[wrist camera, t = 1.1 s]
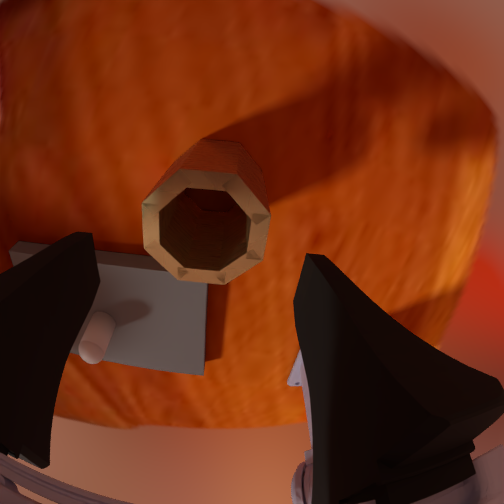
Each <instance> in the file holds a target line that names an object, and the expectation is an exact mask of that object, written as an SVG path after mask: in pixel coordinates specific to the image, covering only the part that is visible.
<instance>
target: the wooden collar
mask: <svg viewBox="0 0 504 504" xmlns="http://www.w3.org/2000/svg"><path fill="white" fill-rule="evenodd" d="M185 188H197V189H209V190H219V191H227V192H228V193H229V194H230V196H231V197H232V198H233V199H234V200H235V201H236V202H237V204H236V205H235V206H234V207H232V208H231V209H229V210H228V211H227V212H219V211H208V210H201V209H200V208H199V207H198V206H197V205H196V204H195V203H194V202H193V201H192V200H191V198H190V197H189V196H188V195H187V194H186V193H185V192H184V190H185ZM270 218H271V213H270V208H269V203H268V198H267V193H266V188H265V183H264V178H263V174H262V170H261V169H260V168H259V166H258V165H257V164H256V163H255V161H254V160H253V159H252V158H251V156H250V155H249V154H248V153H247V152H246V150H245V149H244V148H243V147H242V145H241V144H240V143H239V142H230V141H220V140H209V139H201V140H199V141H198V142H197V143H196V144H195V145H193V146H192V147H191V148H190V149H189V150H187V151H186V152H185V153H184V154H183V155H182V156H180V157H179V158H178V159H177V160H176V161H175V162H174V163H173V164H172V165H171V166H170V168H169V169H168V170H167V171H166V172H165V174H164V175H163V176H162V177H161V179H160V180H159V181H158V182H157V184H156V185H155V186H154V188H153V189H152V190H151V191H150V193H149V194H148V195H147V197H146V198H145V199H144V201H143V202H142V222H143V241H144V249H145V250H146V251H147V252H148V253H149V254H150V255H151V256H152V257H153V258H154V259H155V260H157V261H158V262H159V263H160V264H161V265H162V266H163V267H164V268H165V269H166V270H167V271H168V272H170V273H171V274H172V275H173V276H174V277H175V278H176V279H177V280H181V281H191V282H200V283H211V284H221V285H225V284H227V283H228V282H230V281H231V280H233V279H234V278H236V277H238V276H239V275H241V274H242V273H244V272H245V271H247V270H249V269H250V268H252V267H253V266H255V265H256V264H258V263H259V262H261V261H263V256H264V251H265V245H266V240H267V234H268V229H269V223H270Z"/></svg>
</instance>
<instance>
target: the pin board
mask: <svg viewBox="0 0 504 504" xmlns="http://www.w3.org/2000/svg"><path fill="white" fill-rule="evenodd" d="M48 246H50V245H47V244H39V243H31V242H23V241H18V242H17V243H16V244H15V245H14V246H13V247H12V248H11V249H10V250H9V253H10V257H11V260H12V263H13V266H16V265H17V264H19V263H21V262H22V261H24V260H26V259H28V258H30V257H31V256H33V255H35V254H36V253H38V252H40V251H41V250H43V249H45V248H46V247H48ZM95 254H96V260H97V265H98V271H99V276H100V280H101V282H100V285H99V288H98V291H97V294H96V296H95V299H94V302H93V305H92V307H91V309H90V311H89V313H88V315H87V317H86V319H85V321H84V323H83V325H82V327H81V329H80V331H79V334H78V336H77V338H76V340H75V342H74V344H73V346H72V349H71V351H70V353H74V354H78V355H80V356H81V358H82V359H83V360H84V361H86V362H87V363H90V364H95V363H98V362H100V361H101V360H105V361H110V362H115V363H120V364H125V365H131V366H137V367H143V368H149V369H155V370H162V371H169V372H177V373H185V374H194V375H204V367H205V344H206V319H207V298H208V283H200V282H191V281H181V280H177V279H176V278H175V277H174V276H173V275H172V274H171V273H170V272H168V271H167V270H166V269H165V268H164V267H163V266H162V265H161V264H160V263H159V262H158V261H157V260H155V259H154V258H153V257H152V256H144V255H135V254H126V253H117V252H108V251H99V250H95Z"/></svg>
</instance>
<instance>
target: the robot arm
mask: <svg viewBox="0 0 504 504" xmlns="http://www.w3.org/2000/svg"><path fill="white" fill-rule="evenodd" d="M100 282H101V280H100V276H99V271H98V265H97V260H96V254H95V248H94V242H93V236H92V233H86V232H76V233H73V234H71V235H68V236H66V237H64V238H63V239H61V240H59V241H57V242H55V243H53V244H52V245H50V246H48V247H46V248H45V249H43V250H41V251H40V252H38V253H36V254H35V255H33V256H31V257H30V258H28V259H26V260H24V261H22V262H21V263H19V264H17V265H16V266H14V267H12V268H10V269H9V270H7V271H5V272H3V273H1V274H0V504H41V503H39V502H36V501H34V500H32V499H30V498H28V497H26V496H24V495H22V494H20V493H19V491H18V489H17V486H16V485H15V483H16V484H18V485H20V486H22V487H24V488H26V489H28V490H30V491H32V492H34V493H36V494H38V495H40V496H42V497H45V498H47V499H49V500H51V501H54V502H56V503H58V504H132V503H128V502H124V501H120V500H116V499H112V498H109V497H105V496H102V495H98V494H95V493H92V492H89V491H86V490H83V489H80V488H77V487H74V486H71V485H69V484H66V483H64V482H61V481H58V480H56V479H54V478H51V477H49V476H46V475H44V474H42V473H40V472H37V471H35V470H33V469H31V468H29V467H27V466H25V465H23V464H21V463H19V462H17V461H15V460H13V459H11V458H9V457H8V456H7V455H8V454H9V455H10V456H12V457H14V458H16V459H18V458H20V459H22V460H24V461H26V462H28V463H30V464H33V465H34V466H36V467H39V468H41V469H44V468H46V467H48V466H49V465H50V439H51V428H52V419H53V413H54V407H55V402H56V397H57V393H58V388H59V384H60V380H61V377H62V373H63V370H64V366H65V363H66V361H67V358H68V355H69V353H70V351H71V349H72V346H73V344H74V342H75V340H76V338H77V336H78V334H79V331H80V329H81V327H82V325H83V323H84V321H85V319H86V317H87V315H88V313H89V311H90V309H91V307H92V305H93V302H94V299H95V296H96V294H97V291H98V288H99V285H100ZM293 304H294V317H295V327H296V331H297V336H298V341H299V345H300V350H299V353H298V356H297V358H296V361H295V363H294V366H293V368H292V370H291V373H290V375H289V378H288V380H287V384H288V385H289V386H302V388H303V395H304V401H305V408H306V414H307V421H308V427H309V433H310V441H311V448H312V449H310V450H308V451H305V452H304V453H305V462H302V463H300V464H299V466H298V467H297V469H296V472H295V473H294V475H293V478H292V483H291V496H292V502H293V504H504V447H503V445H501V444H500V445H498V446H497V447H495V448H493V449H491V450H489V451H488V452H486V453H484V454H482V455H480V456H479V457H477V458H475V459H474V460H472V459H471V457H470V453H471V452H473V451H474V450H475V446H474V443H473V439H474V438H475V437H477V436H478V435H479V434H481V433H482V432H483V431H484V430H486V429H487V428H488V427H489V426H490V425H492V424H493V423H494V422H495V421H496V420H497V419H498V418H499V417H500V416H501V415H502V414H503V413H504V389H503V387H502V385H501V384H500V382H499V381H498V379H497V378H495V377H492V376H489V375H487V374H485V373H483V372H481V371H478V370H476V369H474V368H471V367H468V366H467V365H465V364H463V363H461V362H459V361H457V360H455V359H453V358H451V357H450V356H448V355H446V354H444V353H443V352H441V351H439V350H437V349H436V348H434V347H433V346H431V345H430V344H428V343H427V342H425V341H423V340H422V339H420V338H419V337H417V336H416V335H414V334H413V333H412V332H410V331H409V330H408V329H406V328H405V327H404V326H402V325H401V324H400V323H398V322H397V321H396V320H394V319H393V318H392V317H391V316H389V315H388V314H387V313H386V312H385V311H384V310H382V309H381V308H380V307H379V306H378V305H377V304H376V303H374V302H373V301H372V300H371V299H370V298H369V297H368V296H367V295H366V294H365V293H364V292H362V291H361V290H360V289H359V288H358V287H357V286H356V285H355V284H354V283H353V282H352V281H351V280H350V279H349V278H348V277H347V276H346V275H345V274H344V273H343V272H342V271H341V270H340V269H339V268H338V267H337V266H336V265H335V264H334V263H333V262H332V261H330V260H329V259H328V258H327V257H326V256H325V255H319V254H309V253H306V256H305V260H304V264H303V268H302V271H301V275H300V279H299V282H298V286H297V289H296V293H295V297H294V300H293ZM14 482H15V483H14Z"/></svg>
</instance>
